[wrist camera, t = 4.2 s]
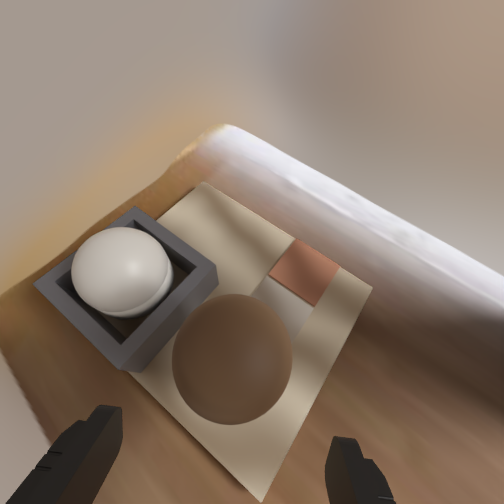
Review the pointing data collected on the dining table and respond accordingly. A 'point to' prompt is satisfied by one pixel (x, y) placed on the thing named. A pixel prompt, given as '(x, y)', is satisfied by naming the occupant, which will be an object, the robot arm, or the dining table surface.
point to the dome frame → (159, 322)
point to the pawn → (232, 359)
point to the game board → (276, 297)
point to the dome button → (122, 273)
